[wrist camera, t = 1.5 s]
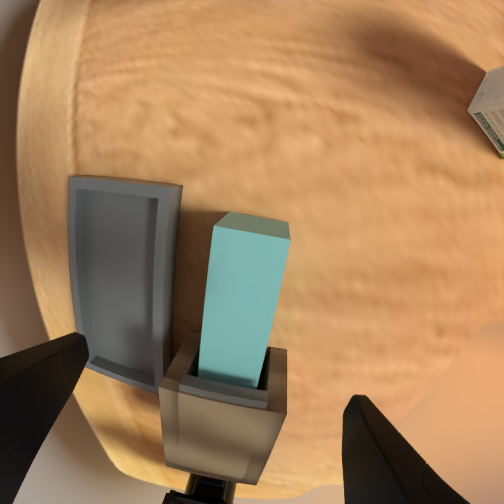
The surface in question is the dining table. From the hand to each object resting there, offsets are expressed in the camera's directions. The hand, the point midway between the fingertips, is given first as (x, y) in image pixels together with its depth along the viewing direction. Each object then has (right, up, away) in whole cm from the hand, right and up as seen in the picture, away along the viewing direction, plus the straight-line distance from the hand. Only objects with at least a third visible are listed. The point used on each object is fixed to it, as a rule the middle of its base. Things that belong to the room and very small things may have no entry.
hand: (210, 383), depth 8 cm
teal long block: (+1, +1, +13) cm, 13 cm away
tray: (-9, +1, +14) cm, 17 cm away
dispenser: (-1, -8, +16) cm, 18 cm away
